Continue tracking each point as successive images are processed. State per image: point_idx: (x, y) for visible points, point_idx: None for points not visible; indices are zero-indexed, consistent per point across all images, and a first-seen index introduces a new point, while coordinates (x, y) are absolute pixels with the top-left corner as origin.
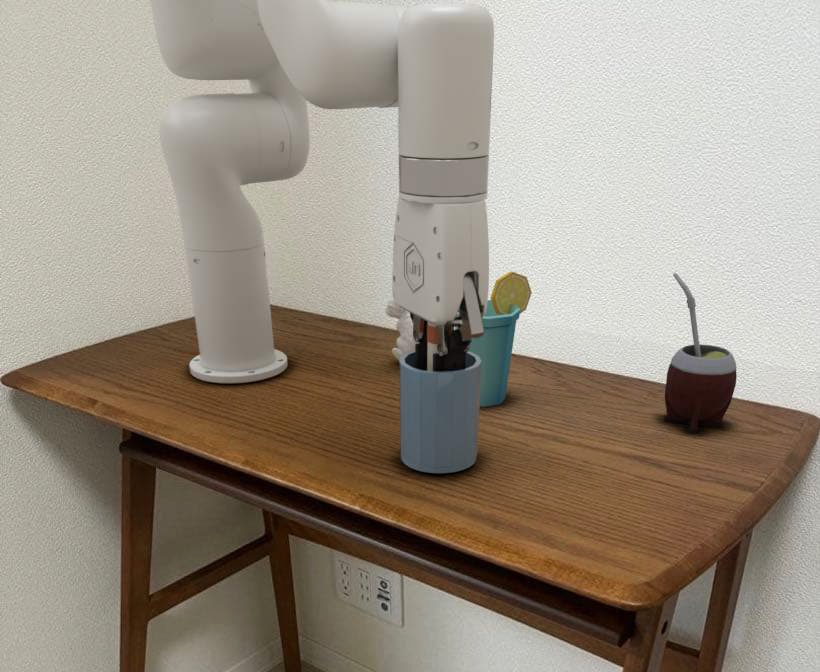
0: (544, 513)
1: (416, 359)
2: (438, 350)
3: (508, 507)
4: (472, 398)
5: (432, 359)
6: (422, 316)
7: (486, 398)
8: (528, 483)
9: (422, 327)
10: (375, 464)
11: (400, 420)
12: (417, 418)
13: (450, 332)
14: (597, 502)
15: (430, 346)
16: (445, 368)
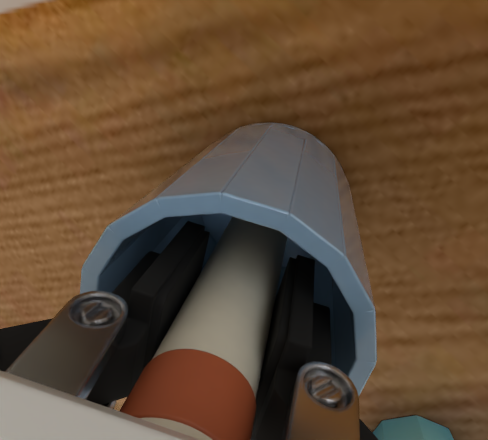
0: (10, 170)
1: (304, 302)
2: (122, 313)
3: (52, 145)
4: None
5: (204, 304)
6: (23, 392)
7: (380, 437)
8: (101, 234)
9: (284, 430)
10: (356, 88)
11: (317, 161)
12: (221, 149)
13: None
14: (3, 250)
15: (202, 339)
16: (131, 281)
